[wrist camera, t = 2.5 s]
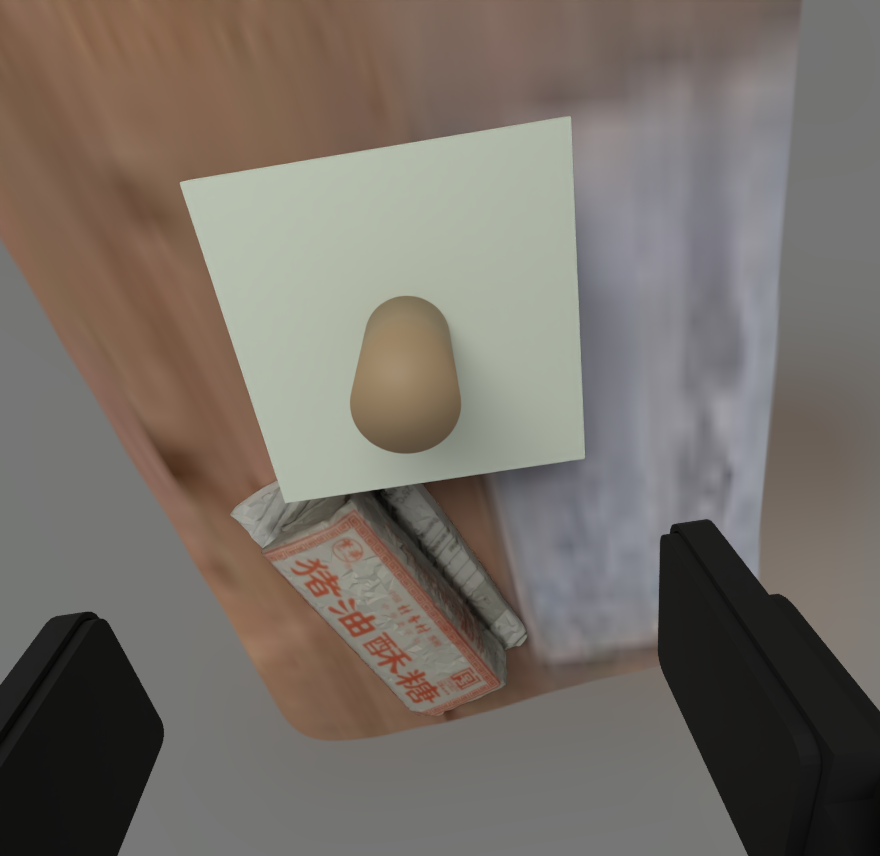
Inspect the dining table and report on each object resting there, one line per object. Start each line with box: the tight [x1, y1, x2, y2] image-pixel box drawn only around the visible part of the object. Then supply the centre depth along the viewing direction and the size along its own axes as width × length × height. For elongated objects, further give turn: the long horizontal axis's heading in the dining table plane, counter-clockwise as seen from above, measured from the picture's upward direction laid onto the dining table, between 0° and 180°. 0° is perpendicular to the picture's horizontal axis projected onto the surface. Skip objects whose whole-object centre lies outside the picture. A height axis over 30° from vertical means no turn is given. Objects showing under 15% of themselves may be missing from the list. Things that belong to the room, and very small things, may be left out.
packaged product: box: [230, 480, 528, 716], centre depth 35 cm, size 18×5×10 cm
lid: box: [180, 117, 585, 503], centre depth 20 cm, size 13×13×7 cm
